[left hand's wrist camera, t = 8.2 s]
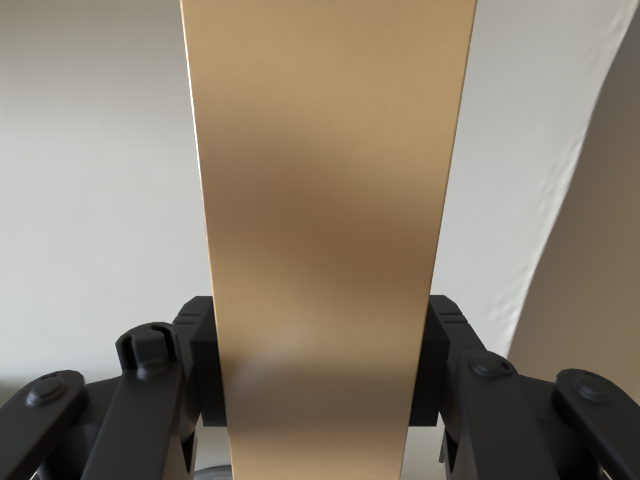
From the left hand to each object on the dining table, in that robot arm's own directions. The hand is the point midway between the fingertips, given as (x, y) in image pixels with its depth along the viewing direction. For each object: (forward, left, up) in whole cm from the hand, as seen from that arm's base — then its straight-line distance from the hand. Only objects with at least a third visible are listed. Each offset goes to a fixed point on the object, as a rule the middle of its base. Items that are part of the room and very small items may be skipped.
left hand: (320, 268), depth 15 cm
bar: (+20, +9, -1) cm, 22 cm away
